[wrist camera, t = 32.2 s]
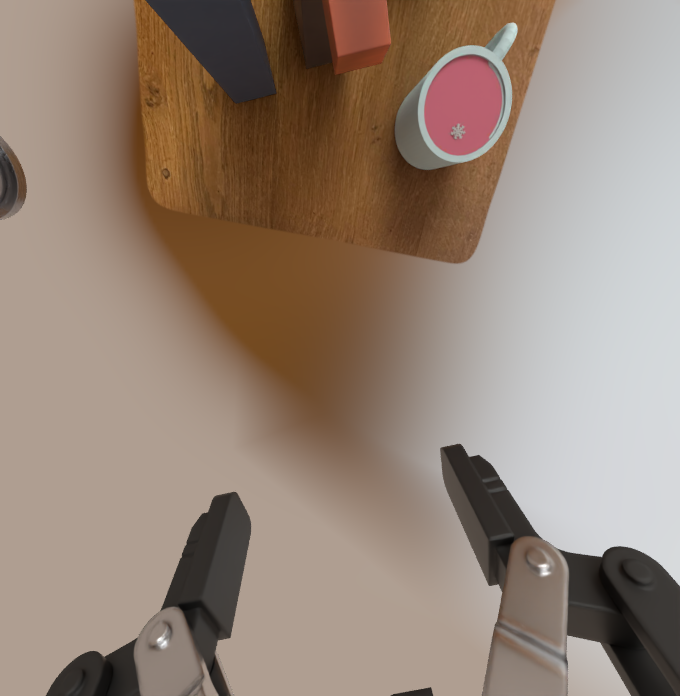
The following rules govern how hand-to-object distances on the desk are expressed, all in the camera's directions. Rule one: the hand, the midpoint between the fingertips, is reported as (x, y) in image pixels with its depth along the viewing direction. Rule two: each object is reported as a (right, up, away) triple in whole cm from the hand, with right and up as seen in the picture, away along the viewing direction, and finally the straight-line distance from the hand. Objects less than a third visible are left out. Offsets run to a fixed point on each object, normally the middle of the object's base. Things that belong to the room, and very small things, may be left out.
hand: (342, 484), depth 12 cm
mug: (+13, +35, +27) cm, 46 cm away
